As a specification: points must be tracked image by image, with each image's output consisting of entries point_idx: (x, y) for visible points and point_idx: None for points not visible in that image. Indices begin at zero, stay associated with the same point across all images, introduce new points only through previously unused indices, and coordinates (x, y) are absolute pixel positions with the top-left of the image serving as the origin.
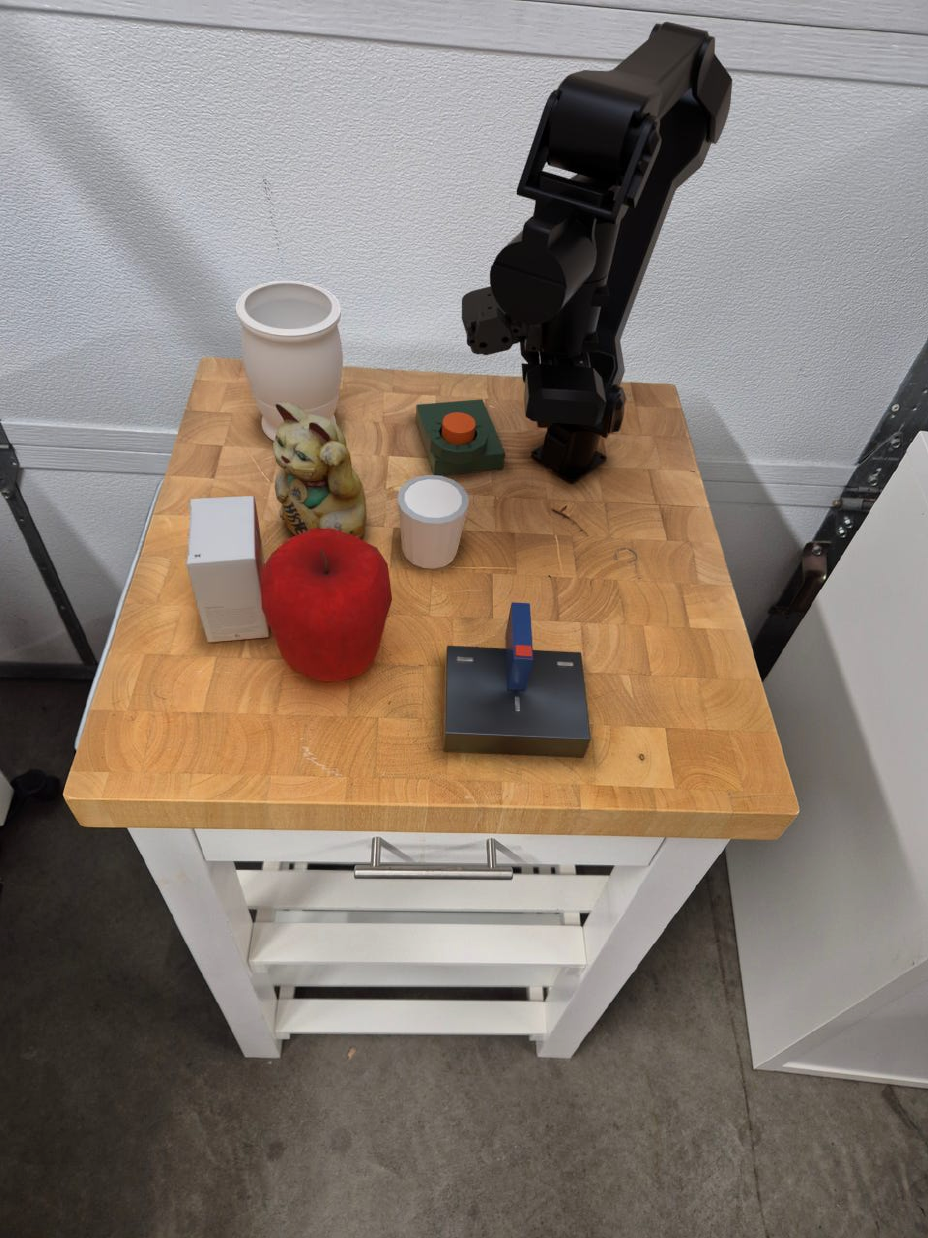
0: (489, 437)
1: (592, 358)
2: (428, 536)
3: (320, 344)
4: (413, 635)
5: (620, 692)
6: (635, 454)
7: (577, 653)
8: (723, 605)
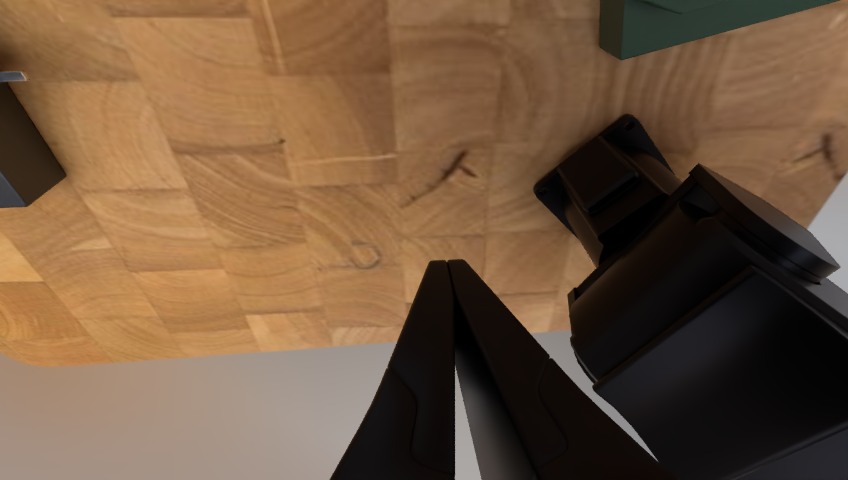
0: (694, 15)
1: (727, 440)
2: None
3: None
4: None
5: (70, 235)
6: None
7: (19, 201)
8: (298, 345)
